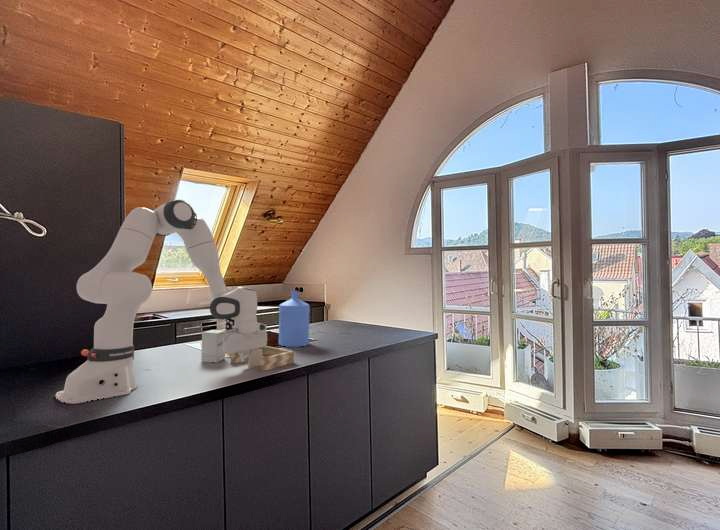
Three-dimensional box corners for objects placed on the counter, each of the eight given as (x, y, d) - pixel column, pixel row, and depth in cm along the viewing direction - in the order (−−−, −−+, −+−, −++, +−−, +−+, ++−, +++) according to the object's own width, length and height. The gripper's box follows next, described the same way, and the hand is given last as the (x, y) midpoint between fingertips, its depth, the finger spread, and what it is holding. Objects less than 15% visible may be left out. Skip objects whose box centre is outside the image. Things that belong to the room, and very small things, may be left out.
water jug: (306, 348, 210) (307, 292, 210) (275, 347, 211) (276, 291, 210) (310, 342, 226) (311, 290, 226) (281, 341, 226) (282, 289, 226)
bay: (262, 371, 165) (262, 358, 165) (230, 363, 176) (230, 351, 176) (294, 363, 179) (294, 351, 179) (263, 356, 190) (263, 345, 190)
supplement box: (216, 363, 177) (217, 333, 177) (200, 362, 178) (201, 332, 178) (225, 359, 184) (226, 330, 184) (210, 358, 185) (210, 329, 185)
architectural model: (245, 367, 172) (245, 349, 172) (259, 364, 178) (260, 346, 178) (250, 368, 170) (250, 350, 170) (264, 365, 175) (264, 348, 175)
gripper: (229, 331, 159) (228, 367, 160) (269, 325, 176) (269, 358, 176) (218, 329, 163) (218, 364, 163) (259, 323, 180) (259, 355, 180)
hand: (245, 361), depth 170 cm, fingers closed
